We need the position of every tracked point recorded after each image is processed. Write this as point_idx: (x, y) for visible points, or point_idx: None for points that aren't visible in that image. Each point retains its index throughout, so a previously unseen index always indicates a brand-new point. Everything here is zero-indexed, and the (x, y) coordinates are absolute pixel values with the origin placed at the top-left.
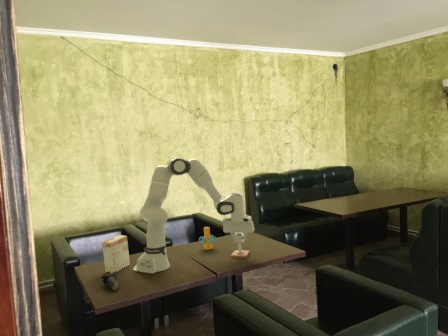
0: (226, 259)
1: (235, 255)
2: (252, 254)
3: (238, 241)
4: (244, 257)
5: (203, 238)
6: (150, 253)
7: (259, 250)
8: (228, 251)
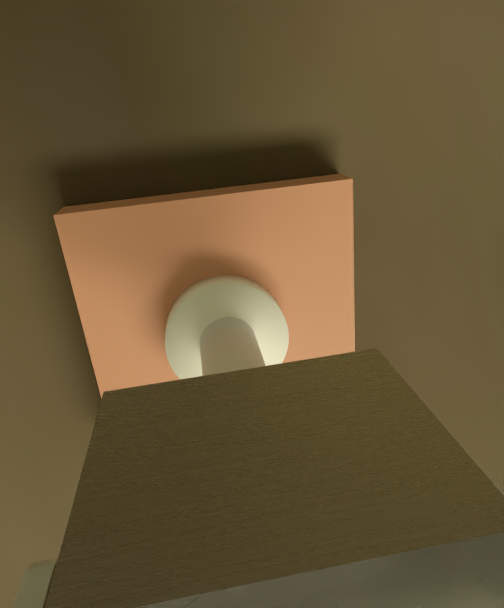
0: (394, 64)
1: (266, 189)
2: (40, 384)
3: (246, 394)
4: (95, 204)
5: None
6: None
7: (17, 543)
8: (441, 410)
